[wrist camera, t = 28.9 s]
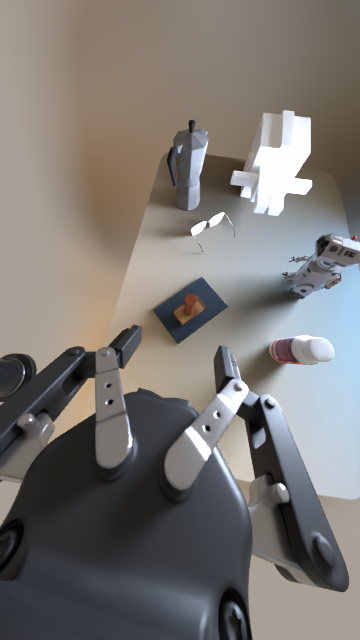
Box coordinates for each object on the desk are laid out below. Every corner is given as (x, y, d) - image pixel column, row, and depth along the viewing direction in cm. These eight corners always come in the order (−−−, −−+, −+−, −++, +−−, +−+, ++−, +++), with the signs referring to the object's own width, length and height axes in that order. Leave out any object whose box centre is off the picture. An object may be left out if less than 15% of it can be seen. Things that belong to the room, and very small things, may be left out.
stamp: (182, 326, 37) (183, 315, 27) (173, 315, 38) (171, 301, 28) (201, 312, 39) (209, 297, 29) (193, 302, 39) (198, 283, 29)
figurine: (280, 263, 44) (331, 217, 29) (315, 280, 42) (386, 240, 28) (269, 283, 42) (317, 245, 27) (305, 303, 40) (376, 273, 26)
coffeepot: (190, 186, 53) (195, 102, 35) (208, 198, 51) (224, 117, 34) (161, 207, 50) (152, 127, 32) (180, 221, 48) (181, 145, 31)
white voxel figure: (221, 225, 50) (229, 167, 55) (289, 235, 49) (291, 175, 54) (237, 176, 36) (247, 104, 41) (334, 189, 35) (331, 113, 40)
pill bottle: (275, 366, 36) (316, 370, 25) (264, 343, 37) (299, 338, 26) (295, 358, 36) (344, 360, 25) (284, 336, 38) (326, 329, 27)
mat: (178, 344, 37) (177, 343, 36) (153, 310, 39) (153, 309, 39) (227, 307, 40) (227, 306, 39) (201, 277, 42) (201, 276, 42)
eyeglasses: (221, 221, 48) (226, 209, 44) (234, 238, 47) (240, 228, 43) (188, 237, 46) (190, 227, 42) (201, 255, 45) (204, 246, 41)
